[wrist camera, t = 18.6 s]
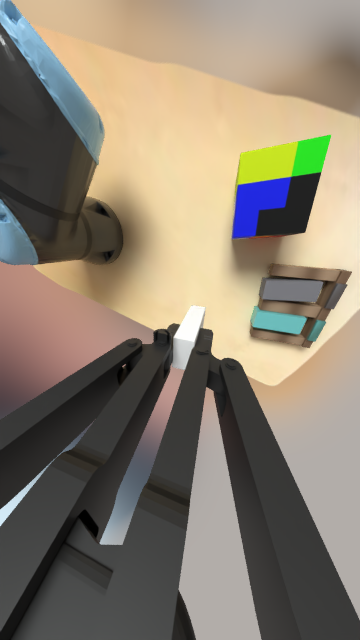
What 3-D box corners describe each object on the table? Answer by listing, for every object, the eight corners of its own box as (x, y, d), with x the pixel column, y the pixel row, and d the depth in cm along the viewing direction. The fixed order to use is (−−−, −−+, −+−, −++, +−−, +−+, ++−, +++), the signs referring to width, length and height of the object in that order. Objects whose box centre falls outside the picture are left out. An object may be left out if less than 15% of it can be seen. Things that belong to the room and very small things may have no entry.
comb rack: (249, 331, 41) (251, 338, 38) (271, 263, 33) (276, 265, 30) (303, 341, 38) (310, 349, 35) (341, 269, 30) (354, 272, 27)
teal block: (250, 319, 40) (252, 326, 36) (254, 305, 38) (257, 311, 35) (292, 326, 38) (299, 334, 34) (299, 311, 36) (306, 318, 32)
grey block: (258, 294, 37) (262, 299, 33) (262, 277, 35) (266, 280, 31) (306, 296, 34) (315, 302, 31) (313, 278, 32) (323, 282, 29)
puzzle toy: (231, 239, 33) (233, 237, 25) (236, 180, 29) (240, 153, 20) (282, 236, 31) (305, 232, 22) (296, 171, 26) (331, 134, 18)
